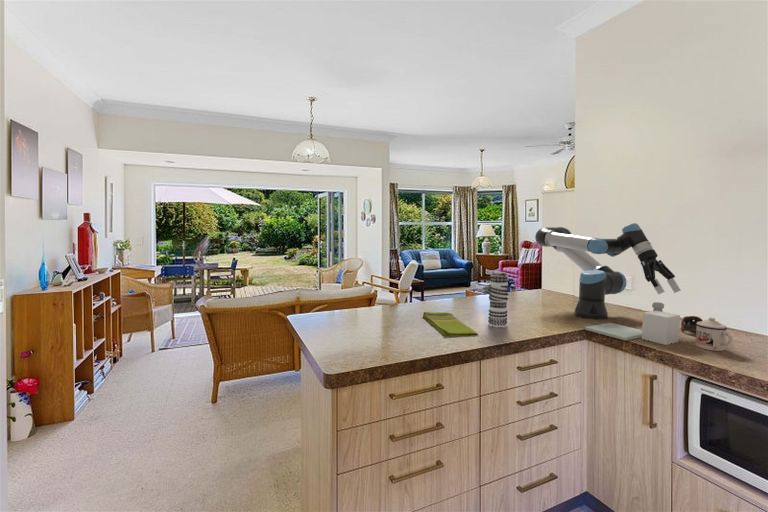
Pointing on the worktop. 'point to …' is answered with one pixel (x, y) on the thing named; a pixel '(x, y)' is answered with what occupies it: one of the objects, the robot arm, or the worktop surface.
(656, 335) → the white block
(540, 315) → the worktop surface
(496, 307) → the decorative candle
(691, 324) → the pottery mug
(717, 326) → the teacup with lid
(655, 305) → the salt shaker
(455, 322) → the dish towel
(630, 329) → the board
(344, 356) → the worktop surface
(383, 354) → the worktop surface
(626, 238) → the robot arm
